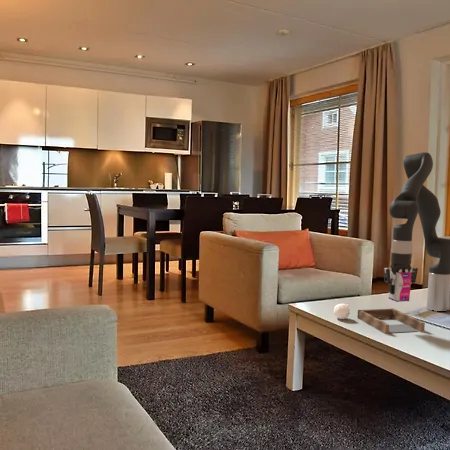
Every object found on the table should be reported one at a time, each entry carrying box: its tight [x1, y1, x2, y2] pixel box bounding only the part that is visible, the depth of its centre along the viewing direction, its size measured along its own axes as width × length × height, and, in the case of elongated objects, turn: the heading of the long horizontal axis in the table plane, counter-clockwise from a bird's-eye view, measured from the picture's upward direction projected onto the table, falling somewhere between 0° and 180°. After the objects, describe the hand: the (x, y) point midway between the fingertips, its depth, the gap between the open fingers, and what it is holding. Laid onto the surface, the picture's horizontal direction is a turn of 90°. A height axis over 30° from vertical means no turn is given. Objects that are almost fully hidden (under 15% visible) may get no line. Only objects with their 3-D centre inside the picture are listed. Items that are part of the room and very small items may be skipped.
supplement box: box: [388, 271, 412, 303], centre depth 186 cm, size 6×6×12 cm
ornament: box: [333, 303, 351, 320], centre depth 199 cm, size 6×7×7 cm
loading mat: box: [389, 323, 419, 334], centre depth 187 cm, size 9×12×1 cm
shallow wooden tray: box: [357, 308, 426, 335], centre depth 193 cm, size 22×17×4 cm
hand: (399, 293), depth 186 cm, fingers closed on supplement box, 6 cm apart
